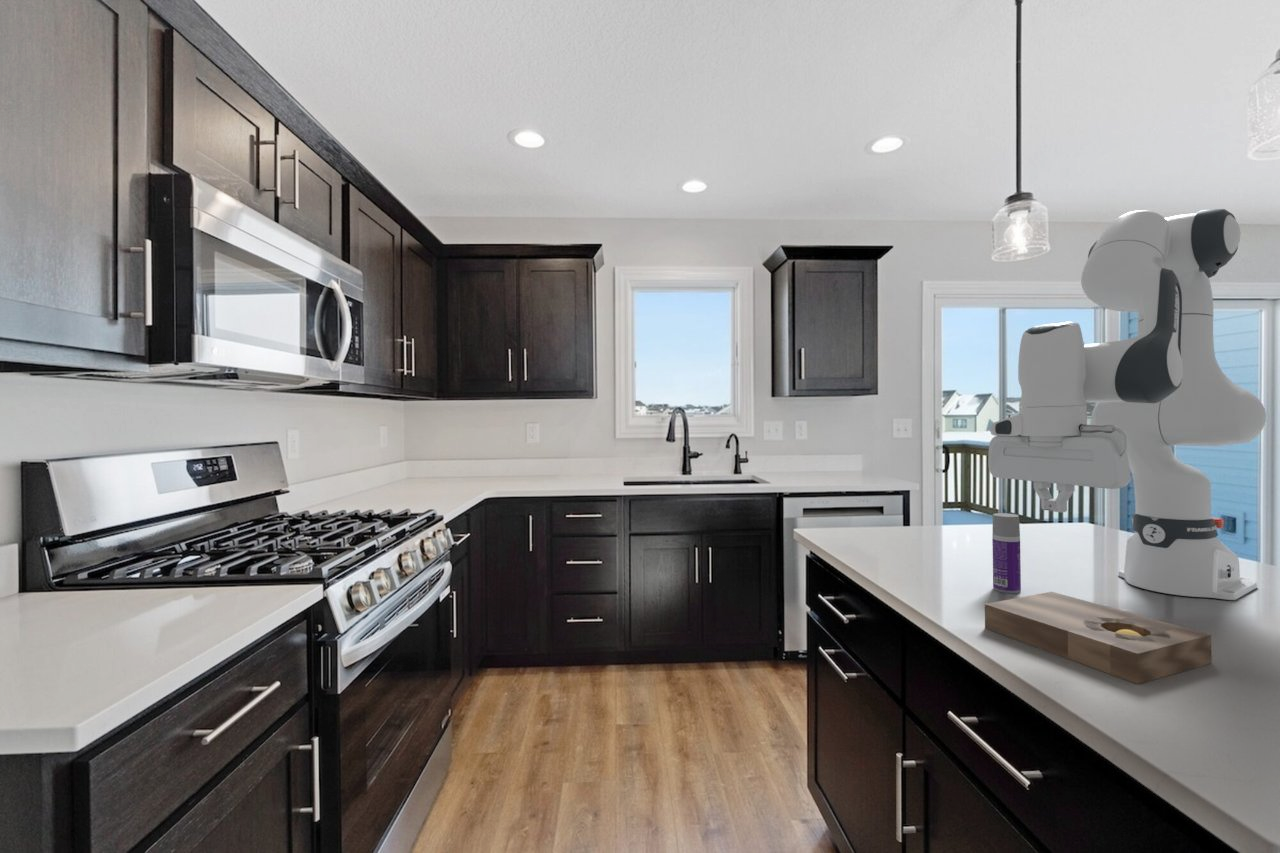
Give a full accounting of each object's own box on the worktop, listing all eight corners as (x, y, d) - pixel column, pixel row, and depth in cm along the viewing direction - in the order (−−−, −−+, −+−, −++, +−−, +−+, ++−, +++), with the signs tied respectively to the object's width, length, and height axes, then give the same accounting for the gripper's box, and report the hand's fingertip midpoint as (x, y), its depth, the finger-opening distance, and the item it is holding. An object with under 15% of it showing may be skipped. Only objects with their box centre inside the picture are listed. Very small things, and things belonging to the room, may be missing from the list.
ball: (1116, 634, 87) (1137, 622, 84) (1138, 660, 84) (1161, 648, 81) (1098, 639, 86) (1119, 627, 83) (1119, 666, 83) (1142, 654, 80)
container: (1025, 594, 113) (1024, 517, 113) (998, 593, 114) (997, 516, 114) (1014, 587, 118) (1013, 513, 118) (989, 586, 119) (988, 512, 119)
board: (1052, 614, 102) (1051, 591, 102) (1211, 663, 81) (1211, 634, 81) (985, 628, 96) (984, 604, 96) (1138, 684, 76) (1137, 653, 76)
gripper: (1140, 424, 84) (1141, 519, 84) (1007, 423, 103) (1009, 501, 104) (1111, 426, 82) (1113, 523, 82) (981, 424, 101) (983, 504, 101)
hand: (1054, 510), depth 93 cm, fingers closed
